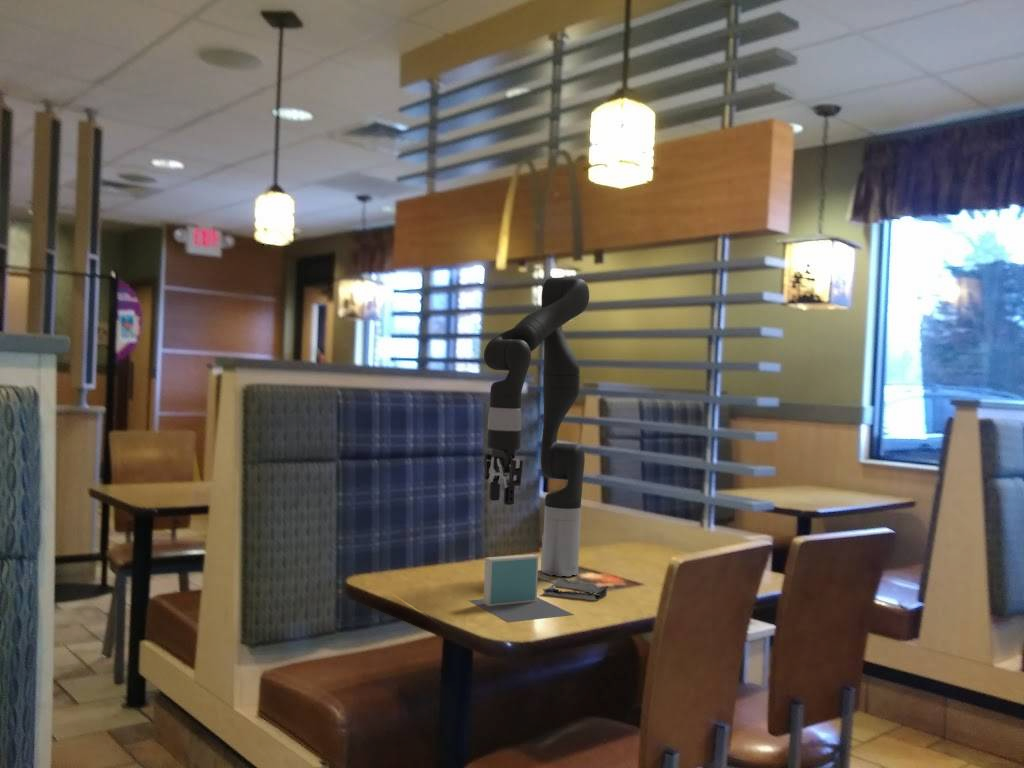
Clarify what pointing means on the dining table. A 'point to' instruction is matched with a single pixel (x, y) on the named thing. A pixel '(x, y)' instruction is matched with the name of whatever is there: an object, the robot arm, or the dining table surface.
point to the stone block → (510, 579)
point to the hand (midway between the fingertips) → (501, 502)
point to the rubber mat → (523, 610)
